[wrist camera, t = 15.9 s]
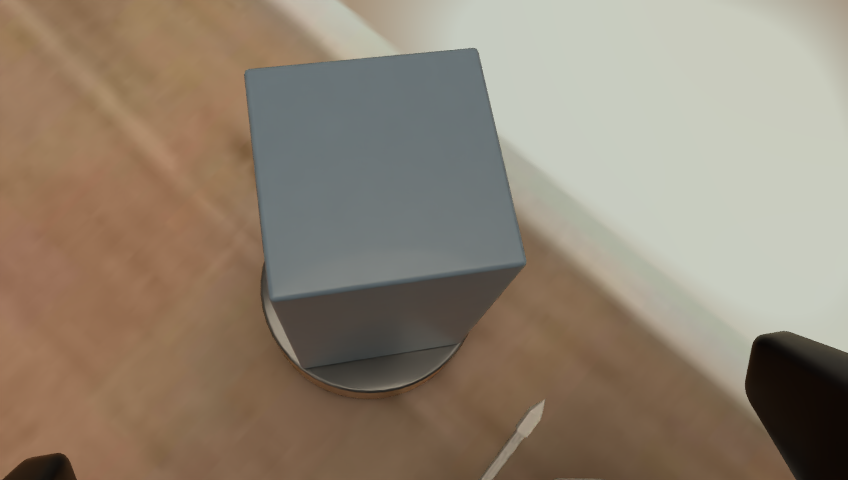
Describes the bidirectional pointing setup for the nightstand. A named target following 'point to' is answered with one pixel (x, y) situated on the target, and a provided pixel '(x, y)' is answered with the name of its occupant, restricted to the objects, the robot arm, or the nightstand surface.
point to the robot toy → (521, 431)
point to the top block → (380, 202)
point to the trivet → (363, 364)
